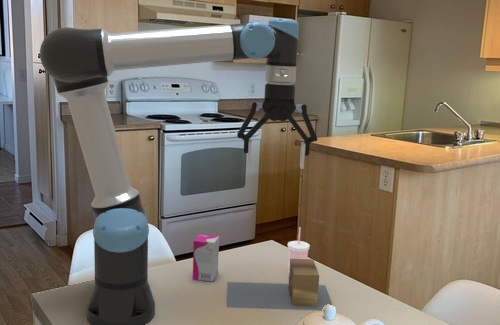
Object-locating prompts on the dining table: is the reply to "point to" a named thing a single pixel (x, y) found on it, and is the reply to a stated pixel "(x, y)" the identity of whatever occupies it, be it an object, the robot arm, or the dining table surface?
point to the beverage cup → (297, 250)
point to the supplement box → (205, 258)
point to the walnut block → (303, 282)
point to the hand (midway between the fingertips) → (275, 166)
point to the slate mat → (269, 296)
